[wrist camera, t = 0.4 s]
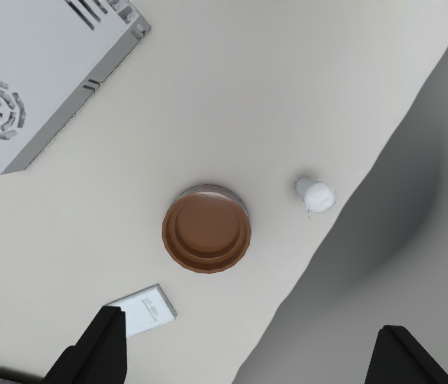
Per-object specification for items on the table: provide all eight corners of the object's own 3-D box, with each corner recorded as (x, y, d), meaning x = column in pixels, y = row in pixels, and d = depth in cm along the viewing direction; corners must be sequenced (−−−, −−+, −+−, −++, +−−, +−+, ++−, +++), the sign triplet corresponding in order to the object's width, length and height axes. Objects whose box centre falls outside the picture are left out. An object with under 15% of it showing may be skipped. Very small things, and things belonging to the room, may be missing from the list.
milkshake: (282, 189, 44) (297, 207, 34) (304, 167, 43) (326, 179, 33) (299, 205, 45) (319, 227, 35) (321, 184, 44) (348, 201, 34)
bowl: (153, 209, 45) (144, 219, 41) (222, 169, 43) (222, 174, 38) (195, 270, 49) (192, 286, 44) (262, 236, 47) (266, 249, 42)
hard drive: (105, 304, 51) (158, 283, 49) (125, 334, 53) (177, 314, 51) (101, 310, 49) (156, 288, 48) (122, 340, 51) (175, 320, 50)
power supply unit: (152, 28, 38) (141, 13, 33) (23, 170, 44) (-2, 176, 39) (53, -86, 34) (25, -121, 29) (-72, 85, 40) (-113, 80, 35)
